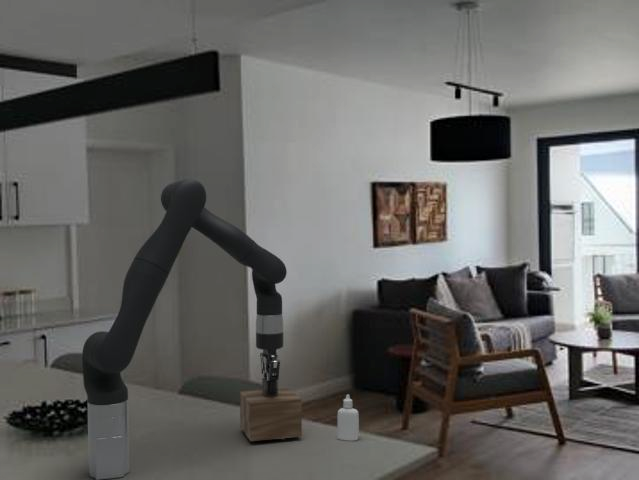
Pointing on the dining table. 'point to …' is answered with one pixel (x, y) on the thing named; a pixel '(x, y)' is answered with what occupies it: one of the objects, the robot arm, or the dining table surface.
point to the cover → (270, 413)
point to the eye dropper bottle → (348, 421)
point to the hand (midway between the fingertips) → (270, 392)
